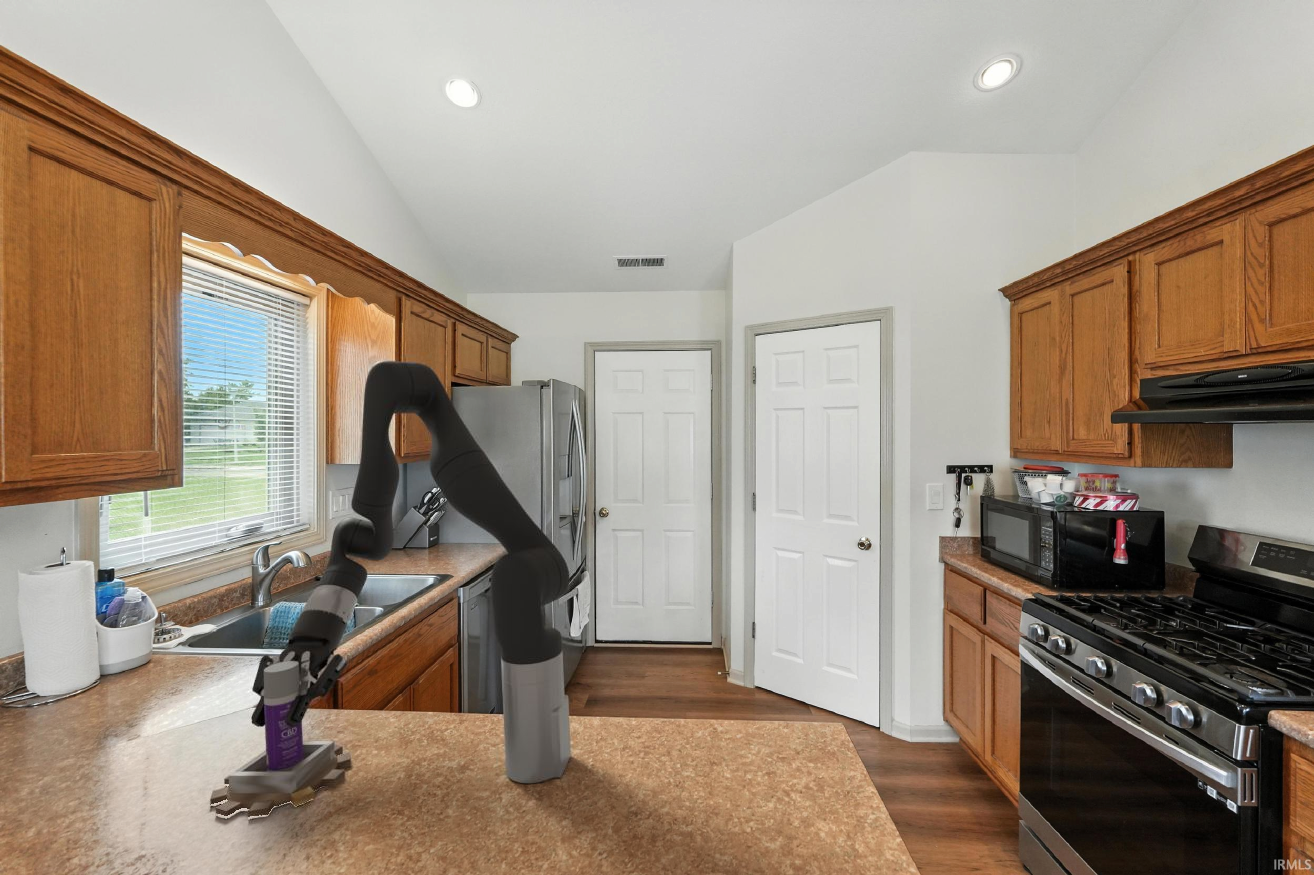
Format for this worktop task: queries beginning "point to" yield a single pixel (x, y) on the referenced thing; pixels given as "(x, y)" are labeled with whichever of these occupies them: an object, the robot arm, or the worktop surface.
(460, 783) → the worktop surface
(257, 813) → the sprocket
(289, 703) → the container
